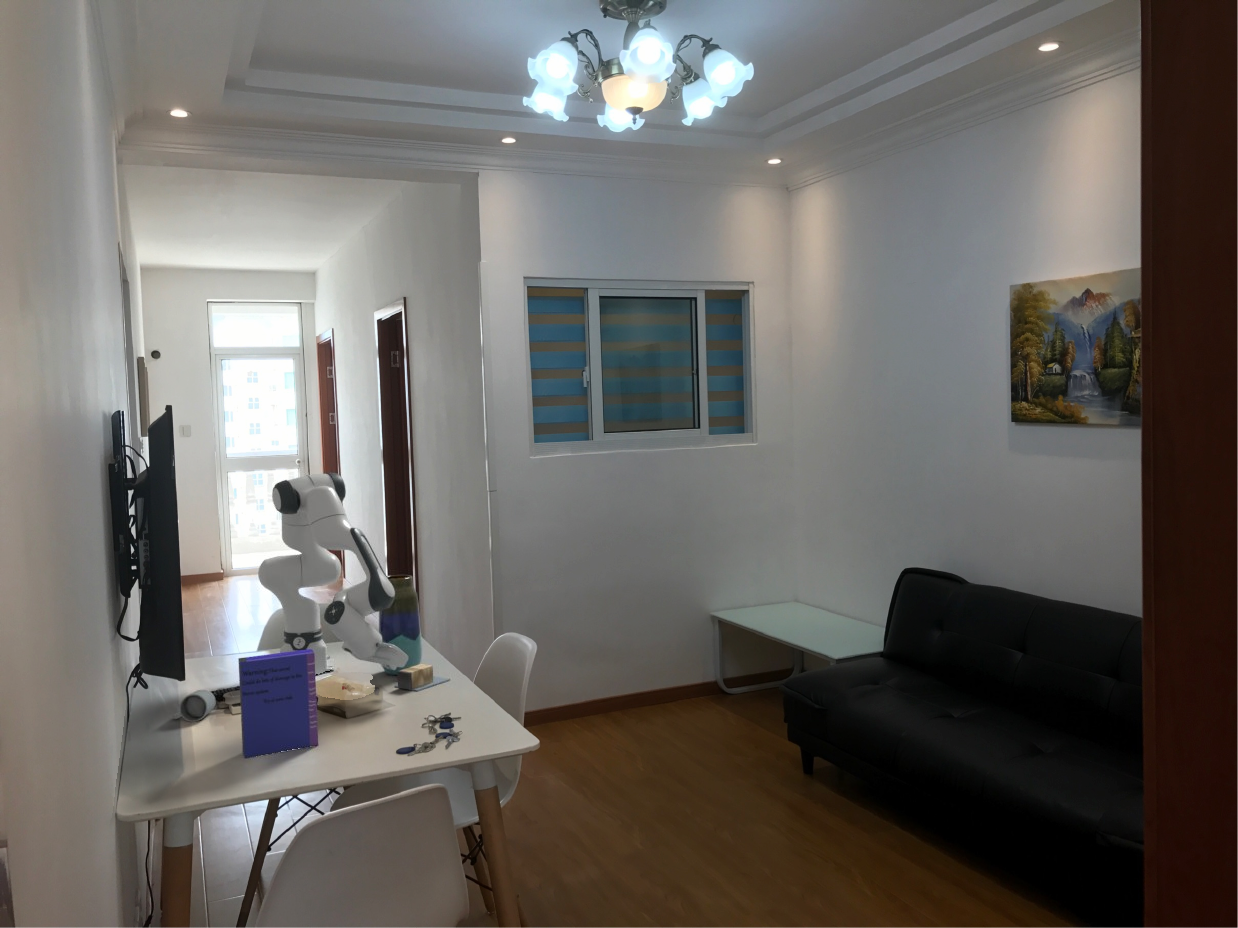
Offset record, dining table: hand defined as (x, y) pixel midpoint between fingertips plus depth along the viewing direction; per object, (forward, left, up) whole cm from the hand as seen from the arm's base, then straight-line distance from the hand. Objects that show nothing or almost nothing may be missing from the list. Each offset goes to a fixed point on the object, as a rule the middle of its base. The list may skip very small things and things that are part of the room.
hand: (392, 667), depth 287 cm
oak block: (-3, +2, -5) cm, 6 cm away
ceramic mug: (+14, -53, -8) cm, 56 cm away
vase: (-24, -1, -8) cm, 26 cm away
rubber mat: (-9, +8, -8) cm, 14 cm away
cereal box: (+46, -22, -8) cm, 51 cm away
